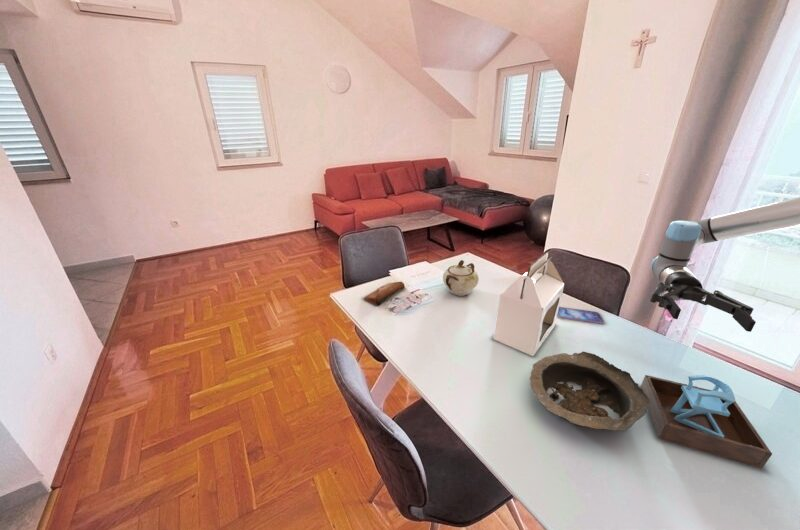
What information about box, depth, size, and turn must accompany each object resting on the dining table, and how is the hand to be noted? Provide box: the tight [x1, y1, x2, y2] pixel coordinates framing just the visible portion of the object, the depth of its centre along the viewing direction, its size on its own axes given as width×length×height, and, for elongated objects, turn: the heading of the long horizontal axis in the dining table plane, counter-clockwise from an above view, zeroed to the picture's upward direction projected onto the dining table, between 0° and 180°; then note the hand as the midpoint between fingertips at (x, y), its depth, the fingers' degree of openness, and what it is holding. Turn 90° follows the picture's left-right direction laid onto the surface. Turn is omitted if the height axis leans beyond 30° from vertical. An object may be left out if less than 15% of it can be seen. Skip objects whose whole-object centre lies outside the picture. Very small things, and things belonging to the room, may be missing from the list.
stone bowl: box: [529, 351, 650, 432], centre depth 78 cm, size 25×25×9 cm
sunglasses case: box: [363, 281, 405, 306], centre depth 133 cm, size 18×7×7 cm
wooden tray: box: [639, 374, 773, 469], centre depth 74 cm, size 18×17×5 cm
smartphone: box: [557, 306, 604, 324], centre depth 118 cm, size 7×1×15 cm
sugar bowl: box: [442, 259, 480, 297], centre depth 133 cm, size 20×15×15 cm
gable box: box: [493, 251, 565, 357], centre depth 103 cm, size 22×13×28 cm, turn 139°
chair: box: [670, 374, 736, 438], centre depth 72 cm, size 8×8×12 cm
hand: (713, 320), depth 74 cm, fingers open, 13 cm apart
